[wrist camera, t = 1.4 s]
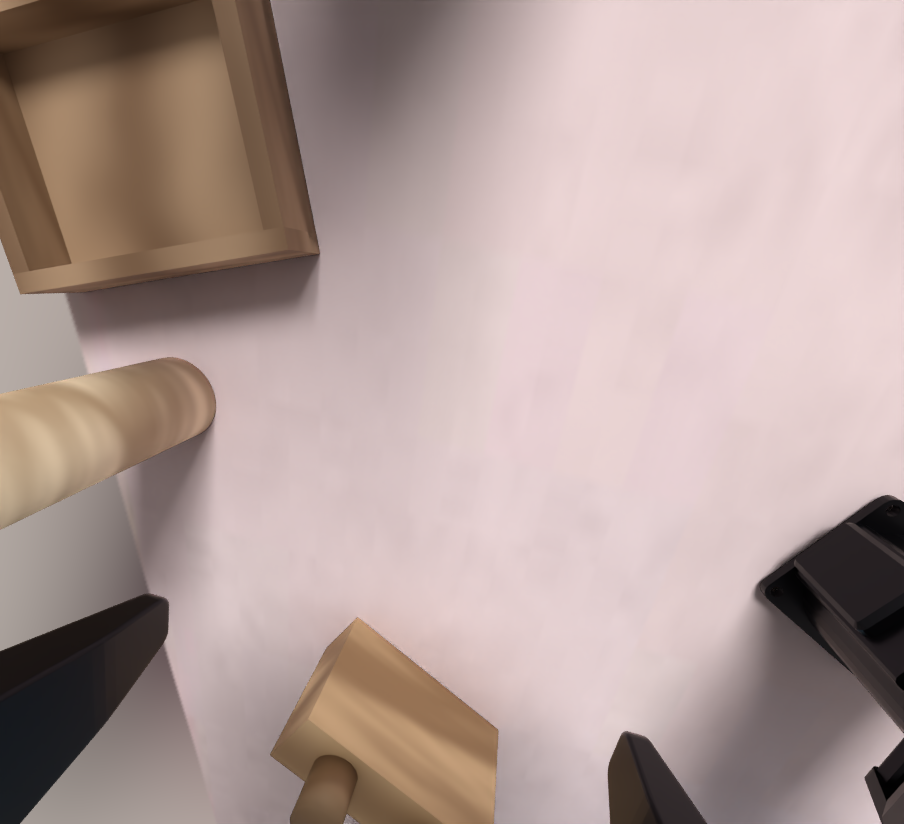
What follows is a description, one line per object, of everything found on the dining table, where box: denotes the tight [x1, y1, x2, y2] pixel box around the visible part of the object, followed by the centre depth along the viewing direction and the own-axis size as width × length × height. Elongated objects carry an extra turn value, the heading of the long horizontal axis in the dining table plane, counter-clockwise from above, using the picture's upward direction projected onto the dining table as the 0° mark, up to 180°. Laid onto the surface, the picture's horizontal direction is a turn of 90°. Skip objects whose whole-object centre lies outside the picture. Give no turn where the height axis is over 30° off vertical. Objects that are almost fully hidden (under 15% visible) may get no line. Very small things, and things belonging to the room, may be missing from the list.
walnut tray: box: [0, 0, 320, 294], centre depth 18 cm, size 12×10×3 cm
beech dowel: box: [0, 357, 216, 530], centre depth 17 cm, size 4×4×11 cm
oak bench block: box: [270, 617, 498, 824], centre depth 22 cm, size 3×10×8 cm, turn 50°
